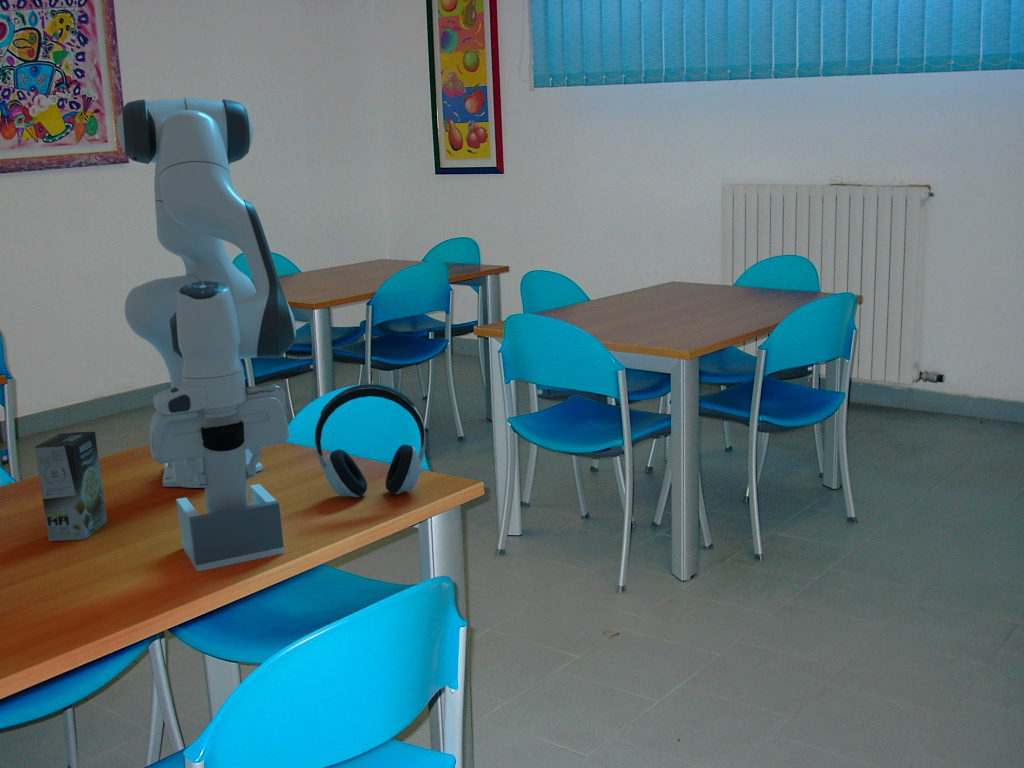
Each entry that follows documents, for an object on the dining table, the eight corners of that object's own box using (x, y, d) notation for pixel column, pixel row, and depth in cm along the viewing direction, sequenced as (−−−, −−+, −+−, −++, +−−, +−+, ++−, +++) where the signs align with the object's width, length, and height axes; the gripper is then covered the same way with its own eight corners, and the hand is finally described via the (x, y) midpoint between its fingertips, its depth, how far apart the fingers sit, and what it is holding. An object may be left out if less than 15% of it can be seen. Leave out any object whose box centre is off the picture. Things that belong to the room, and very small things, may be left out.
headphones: (429, 484, 196) (421, 375, 192) (430, 498, 188) (421, 385, 184) (322, 493, 194) (311, 384, 190) (318, 507, 186) (307, 394, 182)
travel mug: (211, 550, 165) (204, 435, 157) (204, 527, 171) (197, 414, 162) (253, 543, 168) (248, 429, 159) (245, 520, 173) (239, 409, 164)
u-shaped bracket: (182, 547, 170) (176, 499, 168) (264, 531, 176) (259, 483, 174) (197, 571, 160) (191, 520, 158) (284, 553, 165) (278, 503, 163)
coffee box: (86, 540, 176) (72, 445, 173) (47, 542, 177) (33, 446, 173) (108, 521, 185) (95, 430, 182) (71, 523, 186) (58, 432, 182)
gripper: (278, 378, 169) (287, 464, 172) (142, 398, 160) (154, 488, 163) (289, 384, 164) (298, 473, 166) (148, 405, 155) (161, 498, 157)
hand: (226, 480), depth 165 cm, fingers closed on travel mug, 6 cm apart
